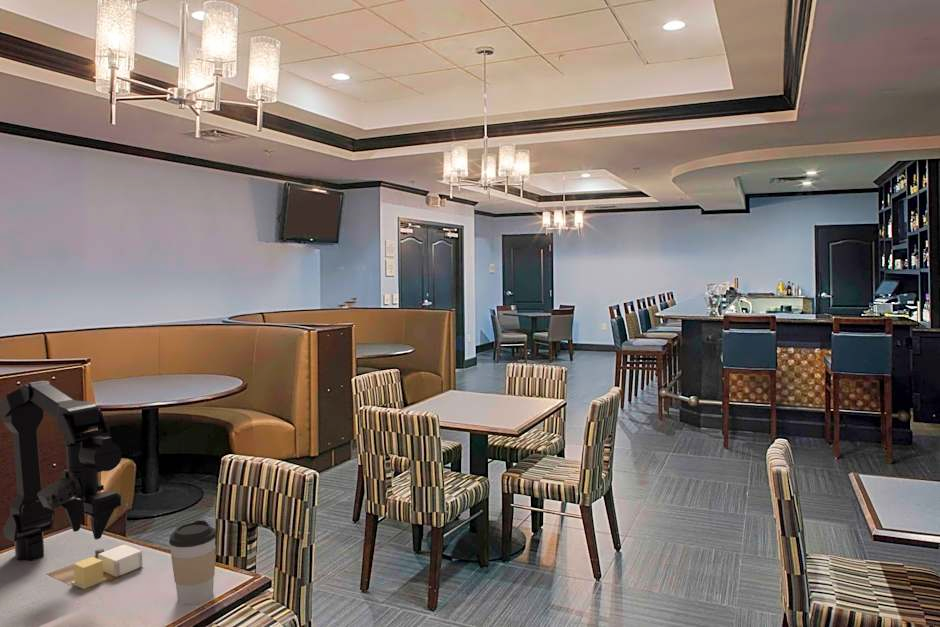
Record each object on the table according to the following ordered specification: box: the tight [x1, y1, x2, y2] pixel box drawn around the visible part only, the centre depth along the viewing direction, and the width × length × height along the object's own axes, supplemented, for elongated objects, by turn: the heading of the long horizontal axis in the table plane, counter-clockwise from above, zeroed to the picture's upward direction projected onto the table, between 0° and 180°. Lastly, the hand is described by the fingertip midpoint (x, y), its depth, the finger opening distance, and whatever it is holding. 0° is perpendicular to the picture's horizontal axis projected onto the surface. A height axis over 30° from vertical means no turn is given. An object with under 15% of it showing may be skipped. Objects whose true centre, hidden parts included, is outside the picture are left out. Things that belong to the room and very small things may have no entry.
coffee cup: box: [168, 519, 217, 605], centre depth 138 cm, size 9×9×15 cm
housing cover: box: [98, 544, 144, 577], centre depth 150 cm, size 7×6×4 cm
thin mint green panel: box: [71, 577, 107, 589], centre depth 144 cm, size 5×5×1 cm
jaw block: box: [73, 556, 104, 586], centre depth 144 cm, size 4×4×4 cm
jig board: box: [46, 548, 144, 593], centre depth 149 cm, size 16×13×3 cm
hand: (86, 534), depth 143 cm, fingers open, 8 cm apart
